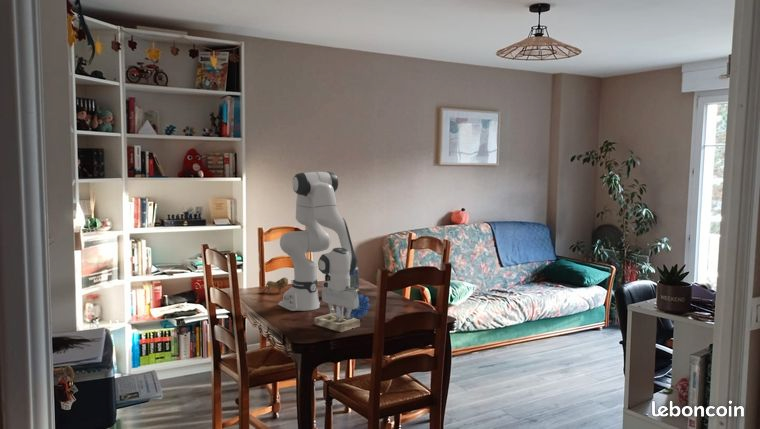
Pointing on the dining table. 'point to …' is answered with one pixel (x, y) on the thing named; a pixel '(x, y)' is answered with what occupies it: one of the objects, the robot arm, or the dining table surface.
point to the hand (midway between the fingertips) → (340, 315)
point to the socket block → (331, 323)
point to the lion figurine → (277, 285)
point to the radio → (353, 279)
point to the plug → (339, 314)
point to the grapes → (360, 307)
